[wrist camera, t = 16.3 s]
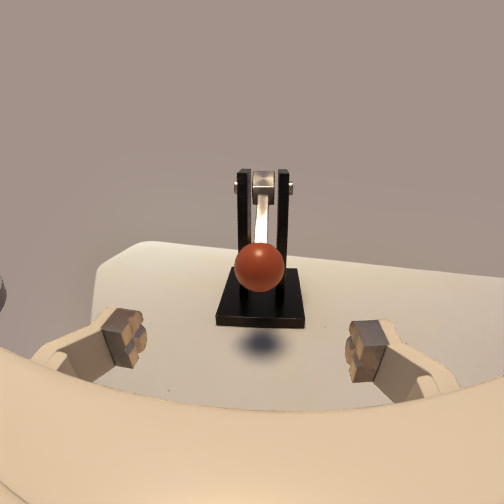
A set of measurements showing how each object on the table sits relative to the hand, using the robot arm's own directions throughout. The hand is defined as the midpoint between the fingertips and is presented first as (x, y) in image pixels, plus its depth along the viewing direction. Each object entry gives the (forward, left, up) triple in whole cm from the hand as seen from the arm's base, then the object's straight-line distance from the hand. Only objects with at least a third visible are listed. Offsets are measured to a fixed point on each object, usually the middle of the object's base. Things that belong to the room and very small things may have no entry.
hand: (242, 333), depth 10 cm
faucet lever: (-3, +17, -2) cm, 17 cm away
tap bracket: (-4, +21, -11) cm, 23 cm away
